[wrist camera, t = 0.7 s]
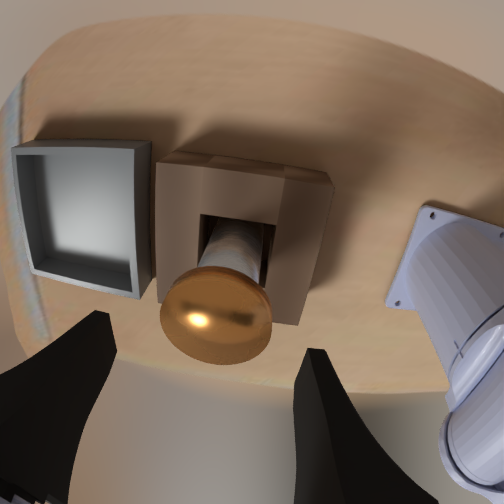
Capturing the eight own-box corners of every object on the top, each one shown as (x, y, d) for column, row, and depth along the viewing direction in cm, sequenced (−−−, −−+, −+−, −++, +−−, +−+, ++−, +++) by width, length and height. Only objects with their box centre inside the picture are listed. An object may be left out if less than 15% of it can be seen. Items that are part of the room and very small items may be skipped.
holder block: (326, 172, 17) (334, 187, 15) (296, 297, 22) (298, 325, 19) (174, 151, 17) (156, 162, 15) (171, 277, 22) (157, 302, 19)
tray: (151, 141, 17) (134, 149, 15) (152, 279, 22) (140, 299, 20) (33, 139, 17) (11, 147, 15) (47, 257, 22) (31, 273, 20)
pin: (280, 202, 19) (281, 291, 11) (269, 264, 21) (262, 371, 13) (208, 191, 19) (157, 271, 11) (203, 254, 21) (163, 354, 13)
